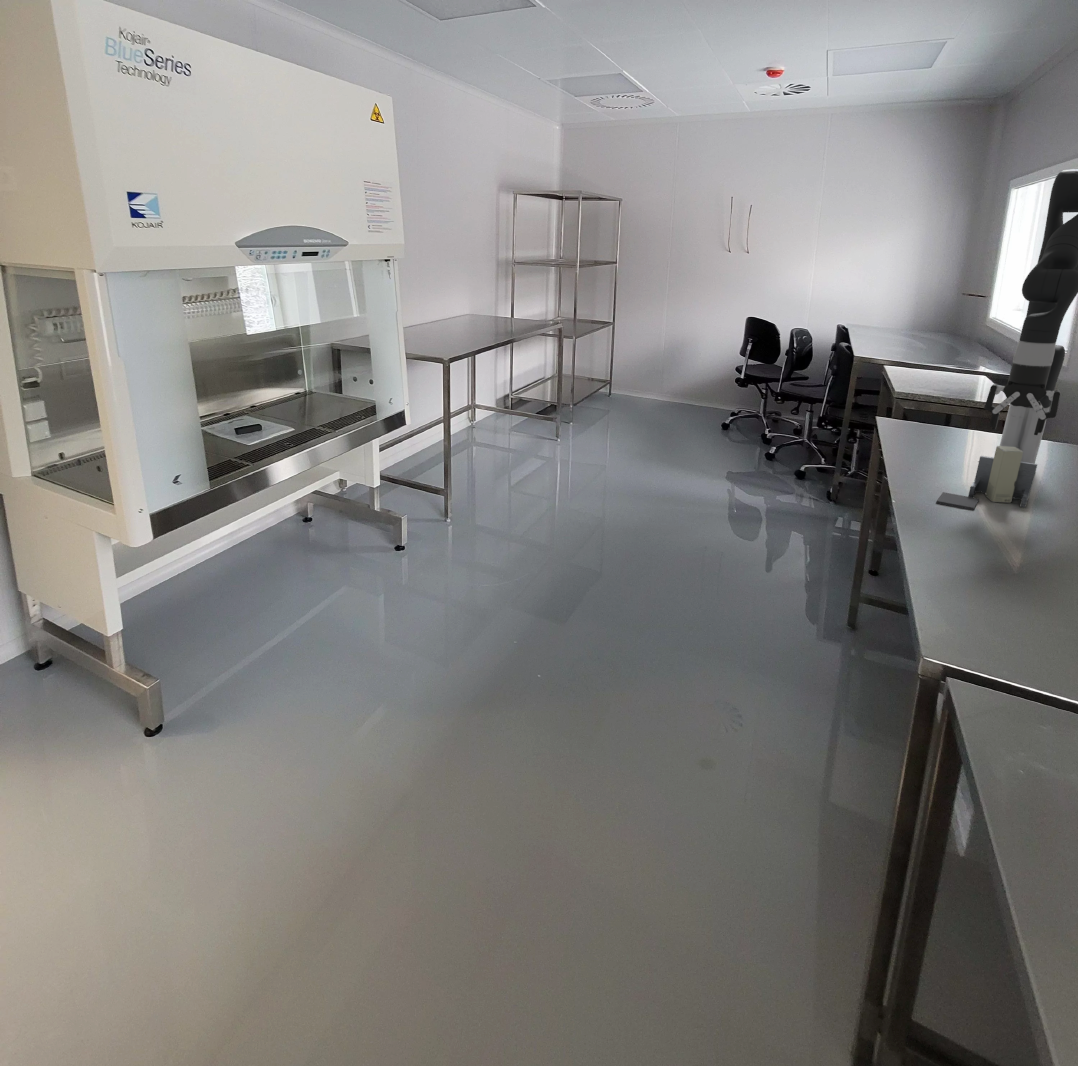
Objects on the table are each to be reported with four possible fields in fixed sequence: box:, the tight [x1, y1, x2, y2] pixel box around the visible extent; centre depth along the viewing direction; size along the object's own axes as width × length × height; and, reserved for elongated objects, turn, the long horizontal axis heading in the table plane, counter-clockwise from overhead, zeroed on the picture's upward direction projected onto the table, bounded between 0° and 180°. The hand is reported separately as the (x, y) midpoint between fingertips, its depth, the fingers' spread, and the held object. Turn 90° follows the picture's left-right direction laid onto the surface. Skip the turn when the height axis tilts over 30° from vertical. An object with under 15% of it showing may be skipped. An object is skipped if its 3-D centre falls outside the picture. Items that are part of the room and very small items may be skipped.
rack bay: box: [967, 455, 1038, 509], centre depth 178 cm, size 8×12×9 cm, turn 53°
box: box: [985, 445, 1023, 504], centre depth 177 cm, size 5×4×13 cm
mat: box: [935, 491, 980, 511], centre depth 178 cm, size 8×8×1 cm
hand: (1014, 431), depth 173 cm, fingers open, 8 cm apart
